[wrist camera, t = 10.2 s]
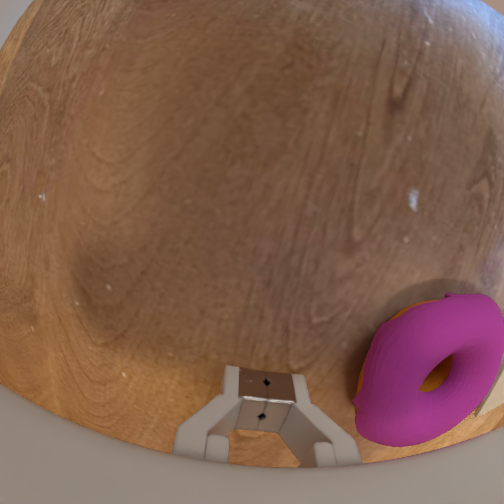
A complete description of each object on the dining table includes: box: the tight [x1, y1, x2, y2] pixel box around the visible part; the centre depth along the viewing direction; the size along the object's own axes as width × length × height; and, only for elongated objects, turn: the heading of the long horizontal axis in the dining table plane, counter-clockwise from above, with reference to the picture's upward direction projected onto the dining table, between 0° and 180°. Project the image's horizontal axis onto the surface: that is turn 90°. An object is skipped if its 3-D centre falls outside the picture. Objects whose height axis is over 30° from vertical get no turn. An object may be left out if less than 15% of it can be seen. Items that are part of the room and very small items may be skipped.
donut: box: [353, 293, 504, 447], centre depth 13 cm, size 10×10×5 cm
